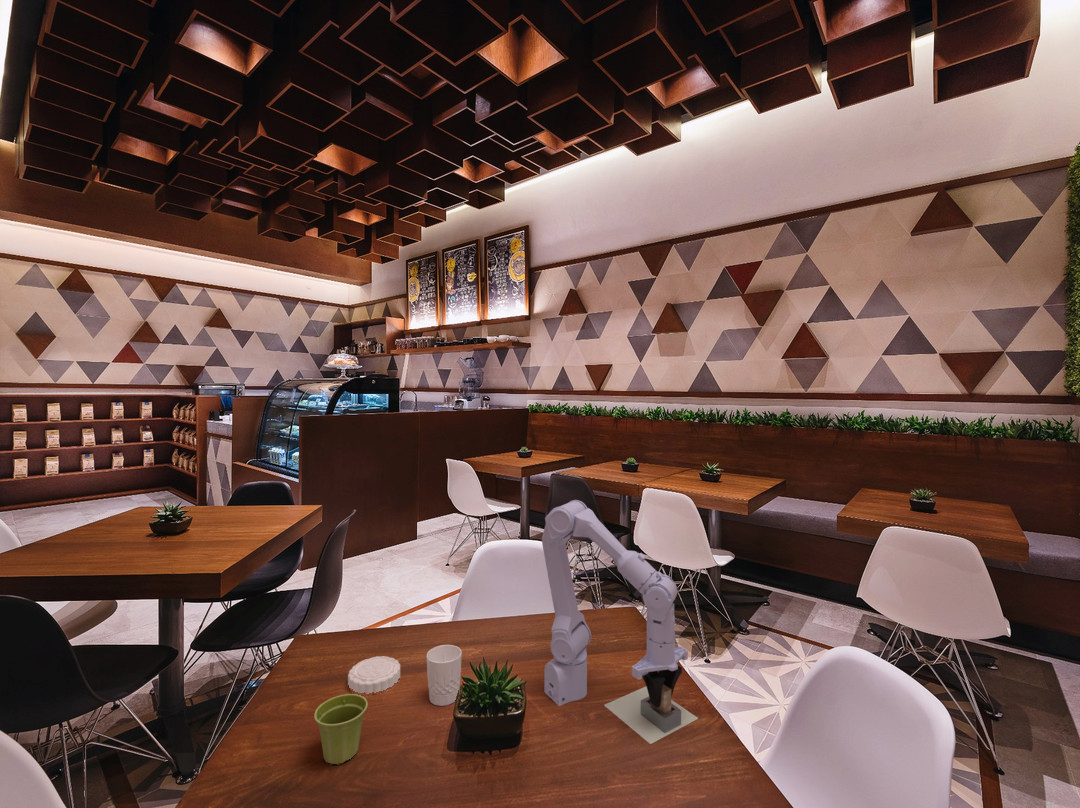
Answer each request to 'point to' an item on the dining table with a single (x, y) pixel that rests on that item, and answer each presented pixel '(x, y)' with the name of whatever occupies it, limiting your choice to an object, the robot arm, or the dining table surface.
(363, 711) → the plant pot
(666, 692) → the wooden block
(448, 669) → the white cup
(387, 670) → the mooncake
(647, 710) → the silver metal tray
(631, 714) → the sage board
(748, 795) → the dining table surface
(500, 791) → the dining table surface
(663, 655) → the robot arm
